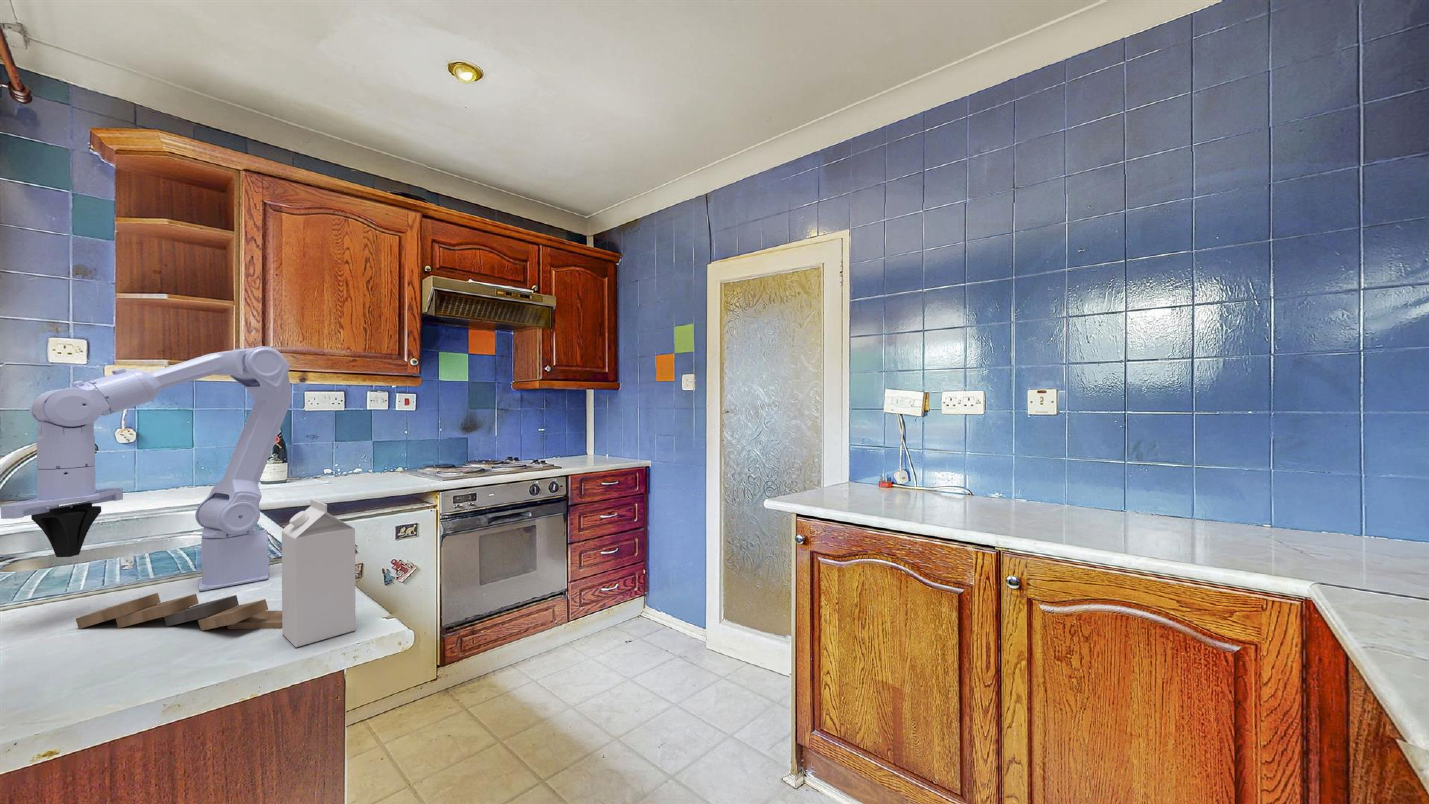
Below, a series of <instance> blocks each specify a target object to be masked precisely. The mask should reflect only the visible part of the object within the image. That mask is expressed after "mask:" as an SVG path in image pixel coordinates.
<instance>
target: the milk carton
mask: <svg viewBox="0 0 1429 804" xmlns="http://www.w3.org/2000/svg"><path fill="white" fill-rule="evenodd" d="M309 500H310V506H308V507H307V508H306V509H305V510H300V511H299V512H297V513H295V514H294V515H293V516H292V517H291V518H290V519H289V524H288V525H286V526H285V527H284V528H283V529H282V530H281V609H282V610H281V611H282V629H281V630H282V636H284V637H285V638H286V640H288V641H289V642H290V643H291V644H292V646H294V648H298V647H301V646H306V645H309V644H314V643H316V642H319V641H323V640H327V639H330V638H334V637H337V636H340V635H343V634H347V633H350V632H354V631H356V629H357V628H356V624H357V623H356V529H355V528H354V527H353V526H351V525H350V524H348V523H347V522H344V521H343V520H342V519H339V518H338V517H335V516H334V515H332V514H331V513H329V512H328V504H327V503H324V502H321V501H318V500H316V499H313V498H310V499H309Z"/></svg>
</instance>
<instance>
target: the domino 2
mask: <svg viewBox="0 0 1429 804" xmlns="http://www.w3.org/2000/svg"><path fill="white" fill-rule="evenodd" d="M198 604H200V603H199V598H198V595H197V593H193V594H190V595H186V596H185V595H184V596H181V597H178V598H174V599H171V600H167V601H163V602H162V601H161V603H158V604H155V605H152V606H150V607H147V608H144V609H142V610H139V611H136V612H133V613H131V614H127V615H124V616H121V617H117V618H115V621H116V624H117V629H120V628H121V629H122V628H124V627H129V626H133V625H137V624H140V623H144V622H148V621H152V620H155V619H160V618H163V617H164V616H167V615H171V614H174V613H176V612H179V611H181V610H184V609H186V608H189V607H192V606H195V605H198ZM164 618H165V617H164Z"/></svg>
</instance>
